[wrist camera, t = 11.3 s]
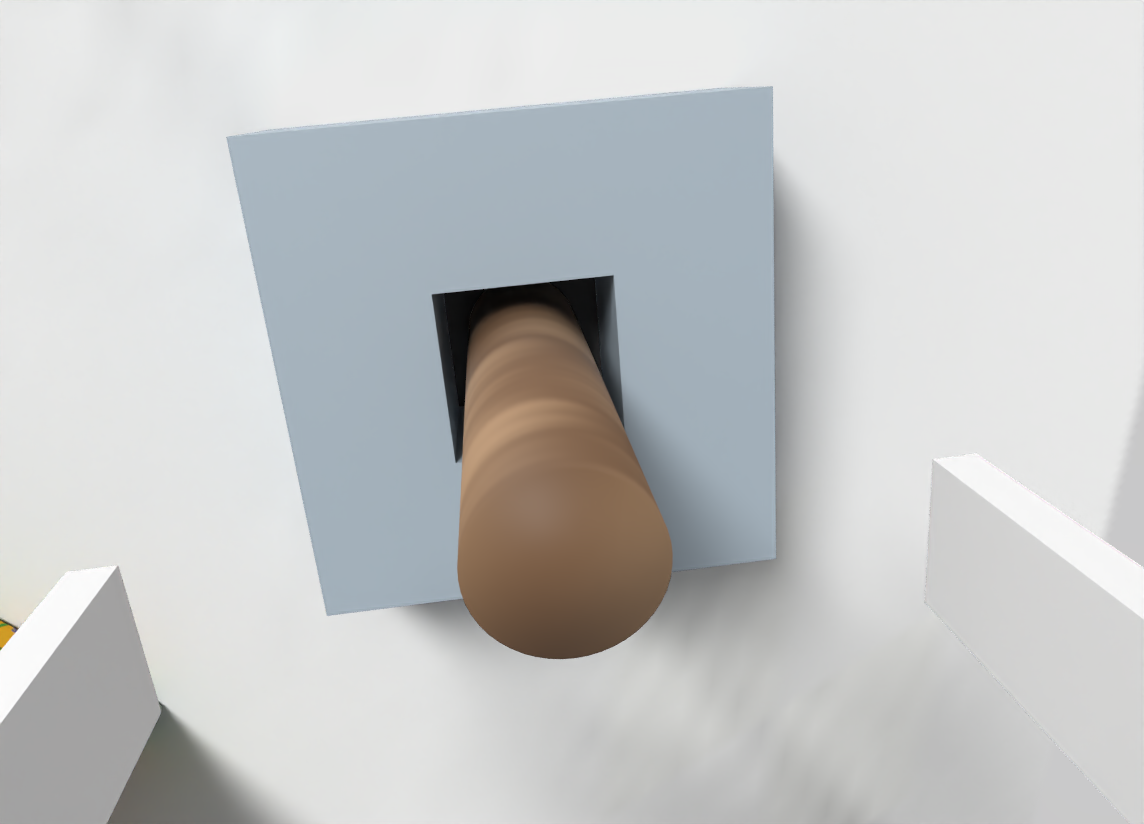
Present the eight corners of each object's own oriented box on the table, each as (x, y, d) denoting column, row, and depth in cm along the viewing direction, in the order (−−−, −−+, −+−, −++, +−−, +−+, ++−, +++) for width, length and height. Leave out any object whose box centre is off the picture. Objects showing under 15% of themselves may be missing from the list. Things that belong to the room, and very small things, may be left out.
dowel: (475, 385, 30) (471, 671, 15) (462, 281, 29) (442, 481, 14) (580, 374, 30) (677, 644, 15) (571, 270, 29) (667, 454, 14)
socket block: (349, 538, 32) (327, 615, 27) (270, 129, 27) (226, 136, 22) (733, 491, 33) (776, 558, 28) (723, 88, 28) (772, 86, 23)
